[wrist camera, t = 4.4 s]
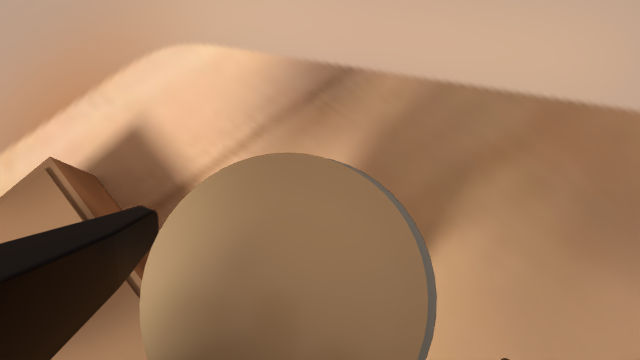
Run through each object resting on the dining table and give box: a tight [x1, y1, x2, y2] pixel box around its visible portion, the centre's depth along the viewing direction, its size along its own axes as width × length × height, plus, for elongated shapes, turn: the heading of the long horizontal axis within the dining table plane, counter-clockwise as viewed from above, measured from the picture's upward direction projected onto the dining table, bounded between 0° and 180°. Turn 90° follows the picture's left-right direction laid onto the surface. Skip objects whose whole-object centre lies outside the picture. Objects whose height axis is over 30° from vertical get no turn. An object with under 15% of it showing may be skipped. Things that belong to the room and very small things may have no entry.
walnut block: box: [0, 157, 151, 360], centre depth 16 cm, size 10×10×3 cm
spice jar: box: [139, 153, 437, 360], centre depth 11 cm, size 5×5×12 cm
